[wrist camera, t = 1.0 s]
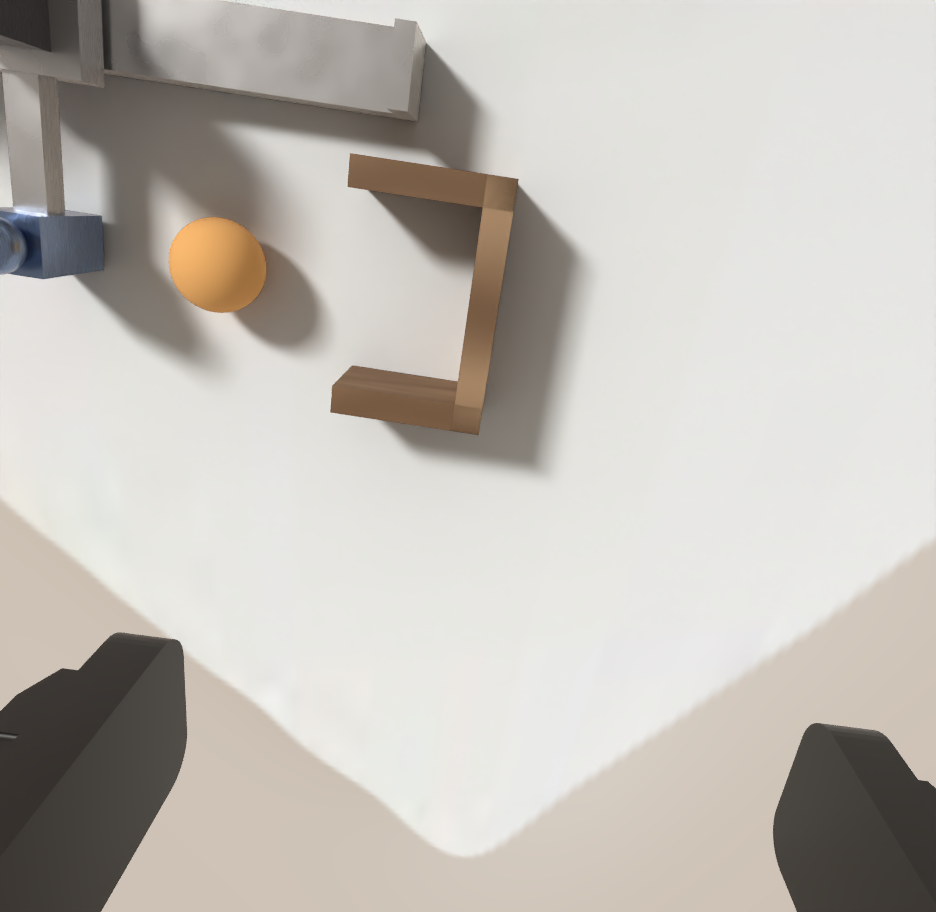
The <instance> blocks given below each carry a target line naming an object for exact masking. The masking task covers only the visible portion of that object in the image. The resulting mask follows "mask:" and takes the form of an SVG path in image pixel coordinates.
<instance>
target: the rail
mask: <svg viewBox="0 0 936 912" xmlns="http://www.w3.org/2000/svg"><path fill="white" fill-rule="evenodd" d="M101 7H102V33H103V59H104V74H109V75H116V76H122V77H129V78H135V79H142V80H148V81H155V82H162V83H168V84H175V85H181V86H188V87H194V88H201V89H207V90H214V91H220V92H227V93H233V94H240V95H246V96H253V97H259V98H266V99H272V100H279V101H285V102H292V103H298V104H305V105H311V106H318V107H325V108H331V109H338V110H344V111H351V112H357V113H364V114H370V115H377V116H383V117H390V118H396V119H403V120H409V121H416V122H418V114H419V105H420V96H421V86H422V77H423V67H424V58H425V49H426V40H425V38H424V36H423V34H422V32H421V30H420V28H419V26H418V24H417V22H415V21H408V20H402V19H395V25H394V27H391V26H384V25H378V24H371V23H365V22H358V21H352V20H345V19H339V18H332V17H325V16H319V15H312V14H306V13H299V12H293V11H286V10H280V9H273V8H267V7H260V6H254V5H247V4H241V3H234V2H228V1H221V0H101Z"/></svg>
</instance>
